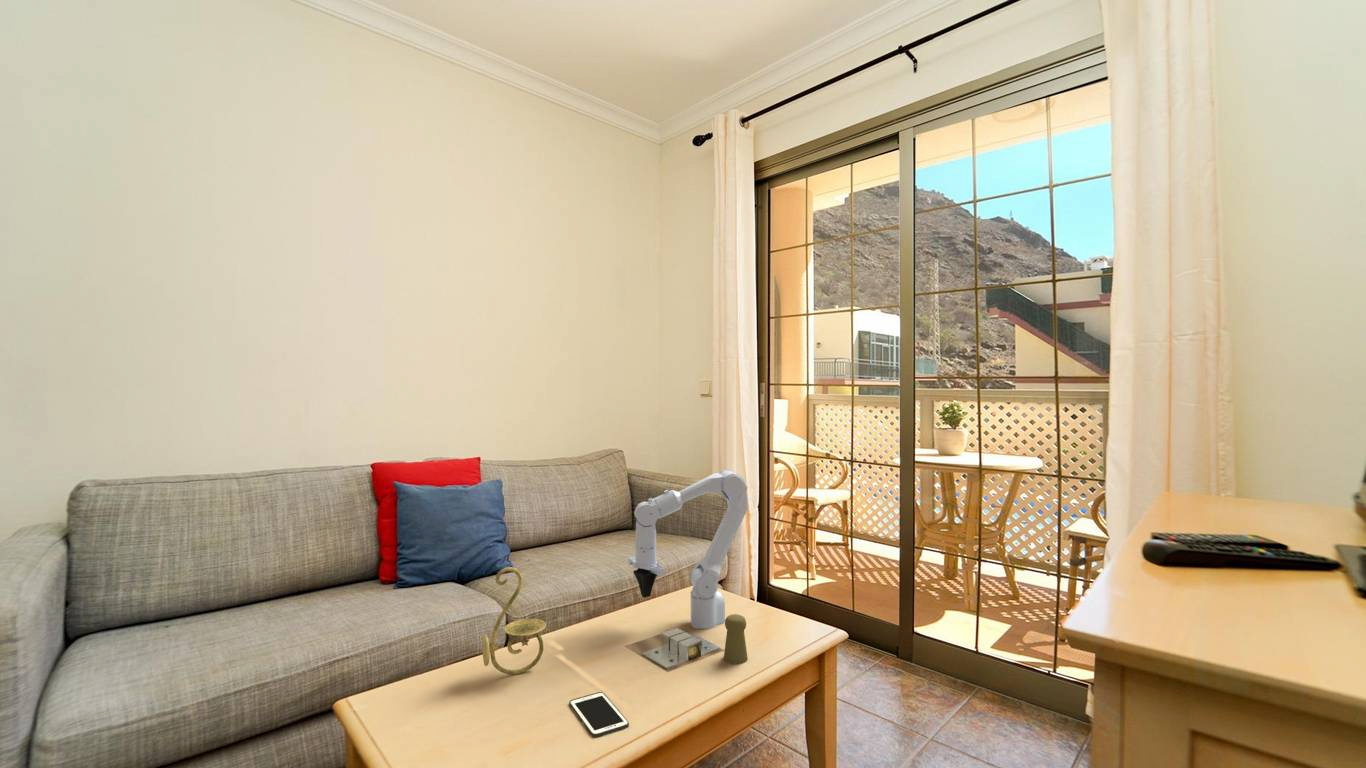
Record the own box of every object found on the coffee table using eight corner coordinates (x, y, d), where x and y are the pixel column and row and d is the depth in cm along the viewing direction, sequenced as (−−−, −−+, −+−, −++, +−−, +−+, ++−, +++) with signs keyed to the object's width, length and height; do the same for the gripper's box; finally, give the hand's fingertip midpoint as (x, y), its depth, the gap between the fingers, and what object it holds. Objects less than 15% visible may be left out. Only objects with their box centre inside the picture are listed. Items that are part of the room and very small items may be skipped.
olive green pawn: (719, 664, 141) (719, 618, 141) (729, 654, 146) (729, 609, 147) (742, 669, 138) (742, 622, 138) (751, 659, 144) (751, 614, 144)
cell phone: (602, 695, 127) (602, 690, 127) (630, 728, 115) (630, 723, 115) (567, 705, 124) (567, 700, 124) (593, 740, 111) (593, 735, 111)
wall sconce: (487, 690, 129) (487, 576, 129) (481, 672, 137) (481, 565, 138) (550, 676, 135) (550, 567, 135) (540, 659, 144) (540, 557, 144)
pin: (664, 646, 149) (664, 635, 149) (673, 643, 151) (673, 632, 151) (689, 660, 141) (689, 648, 141) (698, 657, 143) (698, 645, 143)
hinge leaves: (694, 636, 155) (694, 622, 155) (720, 649, 147) (720, 634, 147) (642, 654, 144) (642, 639, 144) (666, 669, 137) (666, 653, 137)
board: (679, 630, 161) (679, 627, 161) (724, 653, 147) (724, 650, 147) (624, 649, 149) (624, 645, 149) (667, 675, 135) (667, 671, 135)
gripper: (619, 543, 164) (619, 592, 164) (649, 554, 153) (649, 607, 153) (639, 539, 169) (640, 587, 169) (670, 550, 158) (671, 600, 157)
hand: (646, 596), depth 161 cm, fingers closed
